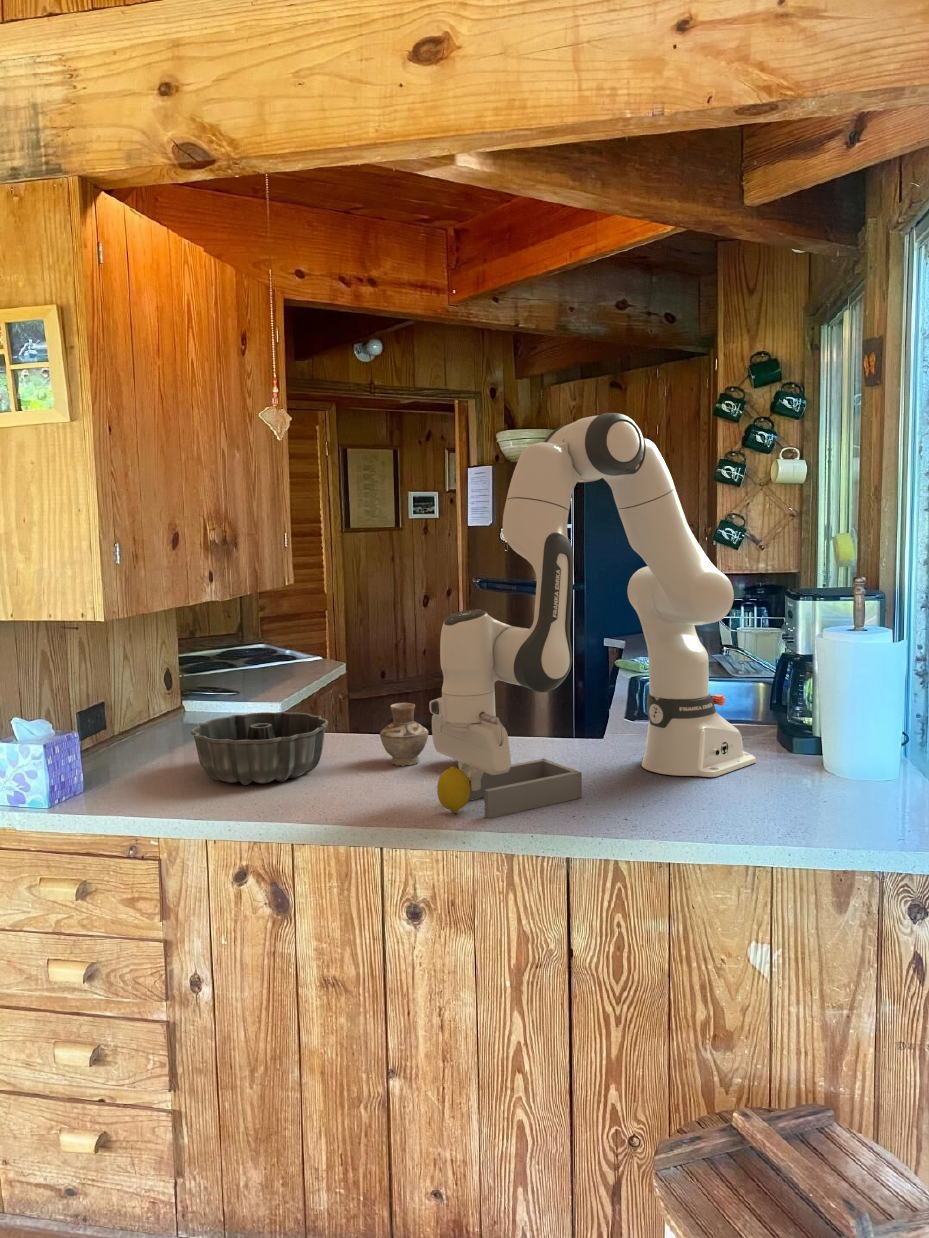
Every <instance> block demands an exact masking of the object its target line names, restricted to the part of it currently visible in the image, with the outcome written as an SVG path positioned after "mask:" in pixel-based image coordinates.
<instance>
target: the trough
mask: <svg viewBox="0 0 929 1238" xmlns="http://www.w3.org/2000/svg"><path fill="white" fill-rule="evenodd" d="M481 797H483V798H484V817H485V818H488V819H492V818H495V817H501V816H505V815H509V814H515V813H519V812H523V811H524V812H525V811H528V810H531V809H532V810H533V809H537V808H542V807H545V806H550V805H555V804H559V803H564V802H567V801H573V800H578V799H582V797H583V783H582V771H579V770H575V769H573V768H570V767H568V766H565V765H562V764H559V763H557V762H554V761H551V760H548V759H546V758H540V759H539V758H538V759H535V760H534V759H533V760H530V761H529V760H528V761H525V762H524V761H523V762H520V763H519V762H518V763H514V764H511V767H510V770H509V771H508V772H507V773H503V774H498V775H490V774H488V773H486V772H484V773H483V775H482V778H481V788H480V790H476V791H472V790H470V798H469V801H472V799H474V800H477V799H476V798H478V799H482V798H481Z"/></svg>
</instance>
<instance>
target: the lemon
mask: <svg viewBox="0 0 929 1238" xmlns="http://www.w3.org/2000/svg"><path fill="white" fill-rule="evenodd" d="M436 792H437V793H436V794H437V799H438V800H439V803H440V805H442V807H443V808H445V809H447V810H449V811H451V813H453V814H457V813H458V812H459V811H460V810H461V809H463V808H465V806H466V805H467V804H468V803H469V801H470V800H469V798H470V784H469V780H468V777H467V775H466V774H465V773H464V772H463V771H462V770H460V769H459V767H458V768H456V766H454V765H453V766H449V768H447V769H445V770H443V772H442V773H441V774H440V776H439V778H438V780H437V786H436Z"/></svg>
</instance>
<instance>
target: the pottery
mask: <svg viewBox="0 0 929 1238" xmlns="http://www.w3.org/2000/svg"><path fill="white" fill-rule="evenodd" d="M415 709H416V704H415V703H412V702H411V703H410V702H398V703H393V704H390V710H391V715H392V720H393V721H392V722H391V723H389V724H388V725H386V726H385V727H384V728H383V729H382V730H381V731H380V732H379V738H380V740H381V743H382V746H383V748H384V750H385V751H386V753H387V754H388V755H390V757H392V758H391V762H390V764H391V765H393V764H395V765H394V766H396V765H401V766H400V767H406V766H405V765H409V766H413V764H414V765H417V764H419V763H420V759H419V755H420V754H421V753H422V752H423V750H424V749H425V747H426V744H427V741H428V739H429V738H428V736H429V730H428V729H427V728H426V727H425V726H423V725H422V724H420V723H418V722H417V721H414V715H415ZM418 762H419V763H418ZM416 763H417V764H416Z"/></svg>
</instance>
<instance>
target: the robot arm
mask: <svg viewBox="0 0 929 1238" xmlns="http://www.w3.org/2000/svg"><path fill="white" fill-rule="evenodd" d="M601 479H603V480H604V481H605V482H606V483H607V484H608V486H609V487H610V489H611V492H612V495H613V499H614V503H615V505H616V509H617V511H618V515H619V518H620V521H621V522H622V525H623V528H624V532H625V535H626V537H627V540H628V543H629V545H630V547H631V548H632V550H633V551H634V552H636V553H637V554H638V556H640V557H641V558H642V560H643V562H644V563H645V564H646V566H643V567H641V568H639V569H637V571H635V572H634V573H633V574H632V576H631V577H630V578H629V582H628V585H627V598H628V601H629V604H631V606H632V608H633V609H634V610H635V612H636V614H637V616H638V619H639V621H640V625H641V628H642V632H643V637H644V640H645V644H646V648H647V649H646V650H647V656H648V676H649V677H648V679H649V680H648V682H649V683H648V684H649V685H648V686H649V692H648V693H647V696H646V697H647V700H646V706H647V707H646V708H647V709H646V711H647V717H648V725H647V734H646V740H645V741H646V743H645V747H644V754H643V758H642V761H641V767H642V768H644V769H645V770H647V771H649V772H653V773H657V774H661V775H669V776H680V777H681V776H682V777H683V776H684V777H685V776H687V777H689V776H690V777H692V776H693V777H704V778H707V777H708V778H716V777H719V776H721V775H725V774H727V773H730V772H733V771H735V770H738V769H742V768H743V767H744V768H745V767H747V766H749V765H752V764H755V763H756V762H757V760H756V759H757V757H756V756H755V755H753V754H751V753H749V752H747V751H744V745H743V744H744V743H743V738H742V737H743V736H742V734H741V732H740V730H739V729H737V727H736V726H734V725H733V724H731V723H730V722H729V721H727V720H726V719H725V718H724V717H722V716H721V714H719V713H718V712H717V709H716V706H715V705H718V706H721V707H722V706H724V705H725V703H726V701H727V697H725V695H724V694H723V695H722V694H714V695H711V694H710V693H709V691H710V690H709V689H710V687H709V682H710V681H709V679H710V678H709V669H710V668H709V654H708V652H707V649H706V648H705V646H704V645H703V644H702V642H701V641H700V640H701V639H700V638H699V636H698V633H697V630H696V626H702V625H707V624H713V623H717V622H719V621H722V620H723V619H724V618H725V617H726V616H727V615H728V614H729V613H730V611H731V610H732V609H731V608H732V606H733V603H734V598H735V592H734V588H733V585H732V582H731V580H730V579H729V578H728V576H726V575H725V574H724V573H723V572H722V571H720V570H719V569H718V568H717V567H716V565H714V564H713V562H711V560H710V558H709V557H708V556H707V555H706V552H705V551H704V550H703V548H702V546H701V545H700V544H699V542H698V541H697V539H696V537H695V535H694V534H693V532H692V529H691V528H690V526H689V523H688V522H687V518H686V516H685V513H684V510H683V507H682V503H681V501H680V498H679V495H678V493H677V489H676V486H675V484H674V481H673V478H672V475H671V473H670V470H669V468H668V466H667V464H666V462H665V460H664V458H663V457H662V454H661V452H660V451H659V449H658V447H657V446H656V444H655V443H654V442H653V441H651V440H650V439H648V438H645V437H644V436H643V433H642V431H641V429H640V428H639V426H638V425H637V424H636V423H635V421H634V420H633V419H632V418H630V417H629V416H627V415H625V414H622V413H618V412H605V413H602V414H600V415H592V416H587V417H583V418H579V419H577V420H576V421H573V422H571V423H569V424H566V425H561V426H559V427H557V428H556V429H554V430H553V431H552V432H550V433H549V434H548V435H547V436H546V437H545V438H544V439H543V441H539V442H535V443H532V444H530V445H528V446H526V447H525V448H524V449H523V450H522V451H521V453H520V456H519V458H518V460H517V463H516V465H515V468H514V470H513V474H512V477H511V479H510V483H509V486H508V487H509V488H508V491H507V495H506V499H505V500H506V501H505V504H504V508H503V516H502V534H503V537H504V539H505V541H506V542H507V544H508V545H509V547H510V548H511V549H512V551H514V552H515V553H516V554H517V555H519V556H521V557H522V558H523V559H525V560H526V561H527V562H528V563H529V564H530V565H531V566H532V568H533V571H534V572H535V576H536V587H535V588H536V589H535V602H534V613H533V614H534V615H533V623H532V625H531V626H530V628H526V627H520V626H513V625H510V624H507V623H504V622H501V621H499V620H497V619H495V618H494V617H492V616H491V615H489V614H488V612H487V611H486V610H483V609H468V610H462V611H461V610H460V611H458V612H457V611H456V612H455V613H451V614H450V615H449V616H447V617H446V618H445V619H444V620H443V623H442V626H441V630H440V631H441V632H440V641H439V642H440V644H439V645H440V646H439V649H440V651H439V655H440V657H439V658H440V660H439V661H440V668H441V671H442V676H443V682H442V686H441V697H438V698H436V699H433V700H430V701H429V703H428V704H429V706H428V707H429V712H430V714H432V716H431V732H432V734H431V735H432V741H433V743H432V744H433V746H434V750H436V752H437V753H439V754H442V755H444V756H446V757H448V758H450V759H454V760H455V761H458V762H457V764H458V765H457V766H458V769H460V770H462V771H463V772H464V773H465V774H466V775H467V777H468V780H469V784H470V790H472V791H476V790H480V788H481V778H482V775H483V773H484V772H486V773H488V774H490V775H498V774H503V773H507V772H508V771H509V770H510V767H511V765H512V758H511V750H510V748H511V747H510V742H509V736H508V732H507V730H506V728H505V727H504V725H503V724H502V722H501V721H500V718H499V717H498V716H496V695H495V694H496V691H495V683H496V682H497V681H501V682H505V683H508V684H512V685H517V686H521V687H524V688H527V689H529V690H532V691H534V692H536V693H537V692H538V693H549V692H552V691H553V690H555V689H557V688H558V687H559V686H560V685H561V684H563V682H564V681H565V680H566V678H567V677H568V675H569V673H570V670H571V668H572V663H573V662H572V661H573V653H572V645H571V617H572V616H571V615H572V599H573V587H574V586H573V585H574V566H575V565H574V563H575V561H574V559H575V558H574V557H575V556H574V550H573V545H572V543H571V542H570V540H569V537H568V536H569V534H568V520H569V513H570V509H571V503H572V502H571V500H572V494H573V492H574V489H575V487H576V484H577V483H588V482H589V483H590V482H595V481H598V480H601Z"/></svg>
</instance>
